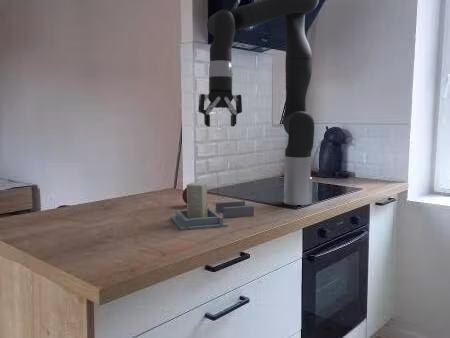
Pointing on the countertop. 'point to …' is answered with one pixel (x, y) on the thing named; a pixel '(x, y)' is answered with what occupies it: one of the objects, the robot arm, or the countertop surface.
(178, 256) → the countertop surface
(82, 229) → the countertop surface
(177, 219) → the grey square tray
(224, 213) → the slot
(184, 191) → the onion
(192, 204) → the box
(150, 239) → the countertop surface
